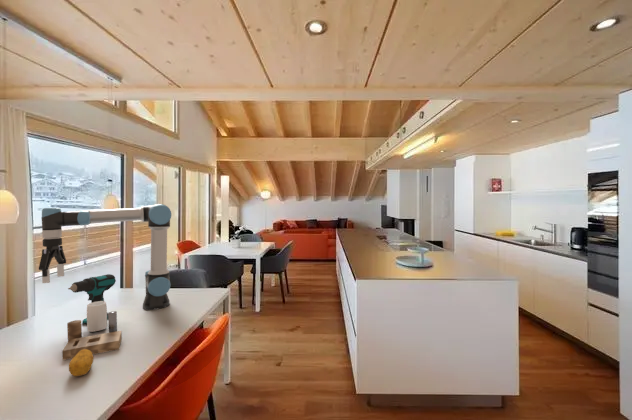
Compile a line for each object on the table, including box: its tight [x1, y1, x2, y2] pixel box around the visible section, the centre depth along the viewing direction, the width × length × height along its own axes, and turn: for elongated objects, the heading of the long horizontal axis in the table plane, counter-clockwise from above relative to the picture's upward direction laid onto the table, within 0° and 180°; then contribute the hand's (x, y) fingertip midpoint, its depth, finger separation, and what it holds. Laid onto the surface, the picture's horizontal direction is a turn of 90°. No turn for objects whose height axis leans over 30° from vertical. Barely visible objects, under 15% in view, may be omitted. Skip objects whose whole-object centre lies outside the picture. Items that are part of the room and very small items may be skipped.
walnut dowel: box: [67, 319, 83, 342], centre depth 144 cm, size 5×5×10 cm
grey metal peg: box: [107, 310, 118, 333], centre depth 151 cm, size 3×3×12 cm
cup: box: [86, 300, 108, 333], centre depth 158 cm, size 8×8×14 cm
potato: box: [68, 349, 95, 377], centre depth 119 cm, size 7×14×7 cm, turn 25°
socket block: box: [61, 330, 123, 361], centre depth 138 cm, size 20×12×4 cm, turn 118°
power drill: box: [67, 273, 117, 325], centre depth 169 cm, size 26×9×25 cm, turn 168°
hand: (53, 279), depth 157 cm, fingers open, 13 cm apart
